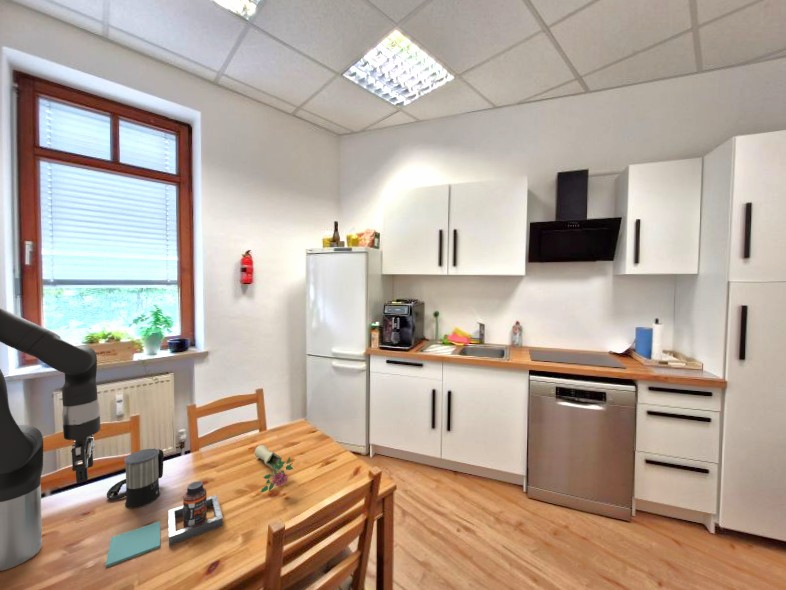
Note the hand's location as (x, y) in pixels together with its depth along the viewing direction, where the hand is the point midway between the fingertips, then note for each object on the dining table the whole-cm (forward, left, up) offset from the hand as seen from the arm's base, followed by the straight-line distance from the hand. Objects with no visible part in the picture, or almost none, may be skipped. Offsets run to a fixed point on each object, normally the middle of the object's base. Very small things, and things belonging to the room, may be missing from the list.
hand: (85, 474), depth 91 cm
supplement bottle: (+26, -12, -17) cm, 33 cm away
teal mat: (+12, -12, -17) cm, 24 cm away
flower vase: (+50, -1, -18) cm, 53 cm away
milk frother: (+10, +13, -18) cm, 24 cm away
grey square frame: (+26, -12, -17) cm, 33 cm away
